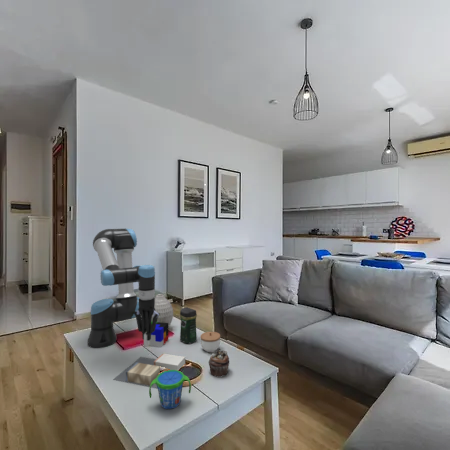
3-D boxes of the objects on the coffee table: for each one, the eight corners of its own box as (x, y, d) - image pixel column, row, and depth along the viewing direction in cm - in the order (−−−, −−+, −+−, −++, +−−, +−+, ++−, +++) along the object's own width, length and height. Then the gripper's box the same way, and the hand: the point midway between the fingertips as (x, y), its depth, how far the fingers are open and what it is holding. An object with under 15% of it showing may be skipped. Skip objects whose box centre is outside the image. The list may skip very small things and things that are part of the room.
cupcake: (231, 368, 131) (231, 347, 131) (226, 379, 121) (226, 356, 121) (212, 365, 133) (212, 344, 133) (205, 376, 124) (205, 353, 124)
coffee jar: (199, 341, 159) (199, 309, 159) (187, 345, 154) (187, 312, 153) (188, 336, 166) (188, 305, 166) (177, 340, 161) (177, 308, 160)
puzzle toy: (161, 347, 151) (160, 329, 151) (144, 346, 153) (144, 328, 153) (168, 340, 161) (168, 322, 161) (152, 338, 163) (152, 321, 163)
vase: (174, 334, 169) (174, 297, 168) (146, 337, 164) (146, 299, 164) (172, 324, 184) (172, 291, 184) (146, 327, 180) (146, 292, 180)
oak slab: (125, 371, 120) (150, 376, 116) (136, 362, 127) (160, 366, 124) (125, 380, 120) (150, 385, 116) (136, 371, 127) (160, 375, 124)
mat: (112, 380, 120) (112, 379, 120) (140, 357, 141) (140, 356, 141) (166, 391, 113) (166, 390, 113) (187, 365, 133) (187, 364, 133)
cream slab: (153, 361, 128) (177, 365, 125) (162, 353, 136) (185, 357, 132) (153, 370, 128) (177, 374, 125) (162, 361, 136) (185, 365, 132)
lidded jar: (208, 356, 141) (208, 338, 141) (196, 349, 150) (196, 332, 149) (224, 350, 148) (224, 333, 148) (212, 343, 156) (212, 327, 156)
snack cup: (146, 414, 100) (146, 386, 100) (152, 395, 110) (152, 370, 110) (190, 412, 101) (190, 384, 101) (191, 393, 112) (191, 368, 111)
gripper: (130, 298, 131) (130, 347, 132) (154, 301, 128) (154, 351, 129) (139, 294, 139) (139, 341, 139) (162, 296, 135) (162, 344, 136)
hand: (146, 346), depth 134 cm, fingers closed
